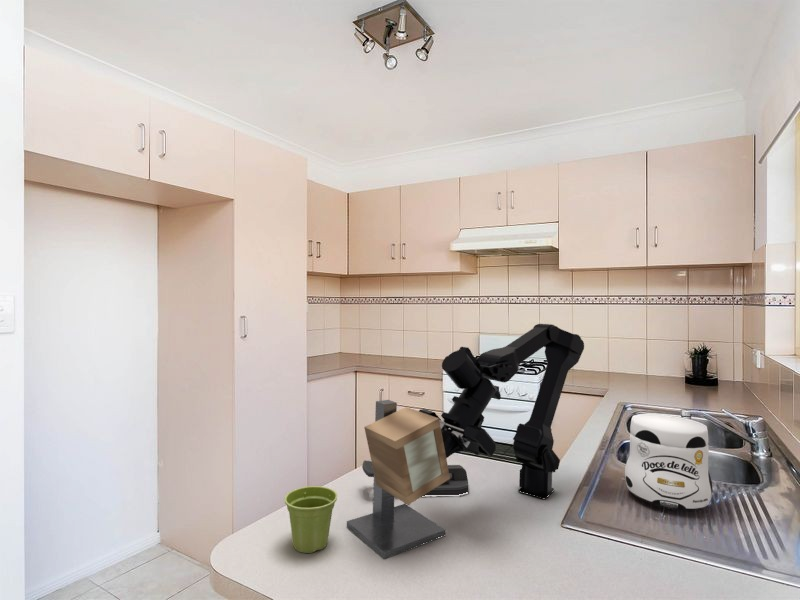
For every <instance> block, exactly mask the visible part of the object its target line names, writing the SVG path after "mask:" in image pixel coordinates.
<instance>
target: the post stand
mask: <svg viewBox="0 0 800 600" xmlns="http://www.w3.org/2000/svg"><path fill="white" fill-rule="evenodd" d="M397 406H398V402H395V401H393V400H390V399H383V400H376V401H375V417H374V419H375V421H374V422H376V421H378V420H380V419H382V418H384V417H386V416H388V415H390V414H392V413H395V412H397V411H398V410H397V408H398V407H397ZM372 495H373V496H372V513H369V514H365V515H363V516H360V517H357V518H356V517H355V518H352V519H350V520H349V519H348V520H347V521H346V528H347V529H348V530H349V531H351V532H352V533H353V534H354V536H356V537H357V538H359V539H360V540H361V541H362V542H363V543H364V544H366V545H367V546H368V547H369V548H370V549H371V550H372V551H374V552H375V553H376V554H378V556H380V557H381V558H382V559H383V560H386V559H388V558H390V557H393V556H396V555H399V554H401V553H402V554H403V553H404V552H407V551H409V549H410V550H411V548H412V549H414V547H415V548H417V547H416V546H418V547H420V546H422V545H421V544H423V543H426V542H428V543H430V542H429V541H431V540H434V539H436V538H438V537H441V536H444V535H446V533H447V532H446V531H447V530H446V529H445V528H444V527H442V526H440V524H437V523H436V522H434V521H433V520H432V519H429V518H428V517H427V516H425V515H423V514H422V513H421V512H419V511H417V510H415V509H414V508H413V507H411V506H409V505H407V504H405V503H402V504H400V505H396V506H395V497H394V496H393V495H391V494H390V493H388V492H386V491H385V490H383V489H382V488H380V487H379V486H377V485H376V480H375V475H374V477H373V494H372ZM444 537H445V536H444ZM436 540H437V539H436ZM434 541H435V540H434ZM431 542H432V541H431ZM426 544H427V543H426ZM419 545H420V546H419ZM423 545H424V544H423ZM406 550H407V551H406Z"/></svg>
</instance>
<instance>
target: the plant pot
mask: <svg viewBox="0 0 800 600" xmlns="http://www.w3.org/2000/svg"><path fill="white" fill-rule="evenodd" d="M337 500H338V493H337V492H336V491H335V490H334V489H332V488H329V487H326V486H318V485H317V486H316V485H314V486H313V485H312V486H311V485H310V486H303V487H298V488H296V489H293V490H291V491H289V492H288V493H287V494H286V495H285V497H284V499H283V501H284V504H285V505H286V507H287V511H288V514H289V522H290V523H289V524H290V528H291V529H290V530H291V540H292V547H294V548H295V550H296V551H297V552H300V553H306V554H311V553H314V552H316V551H321V550H323V549H325V548H326V547H327V545H328V541H329V535H330V528H331V523H332V515H333V510H334V508H335V503H336V502H337Z"/></svg>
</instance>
